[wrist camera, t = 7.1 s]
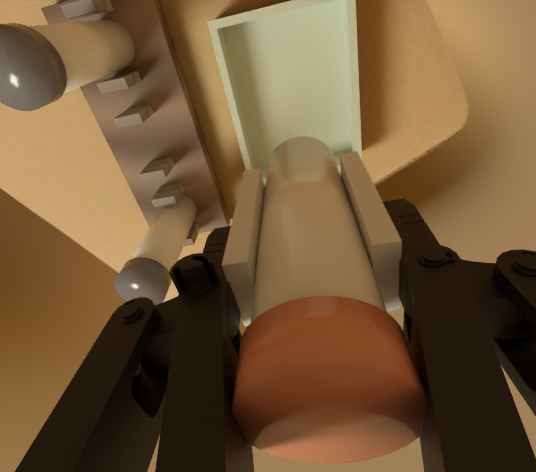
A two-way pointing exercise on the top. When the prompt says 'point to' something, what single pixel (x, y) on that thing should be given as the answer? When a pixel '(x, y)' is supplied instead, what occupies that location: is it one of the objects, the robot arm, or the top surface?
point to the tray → (291, 76)
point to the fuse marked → (320, 327)
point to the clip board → (150, 114)
